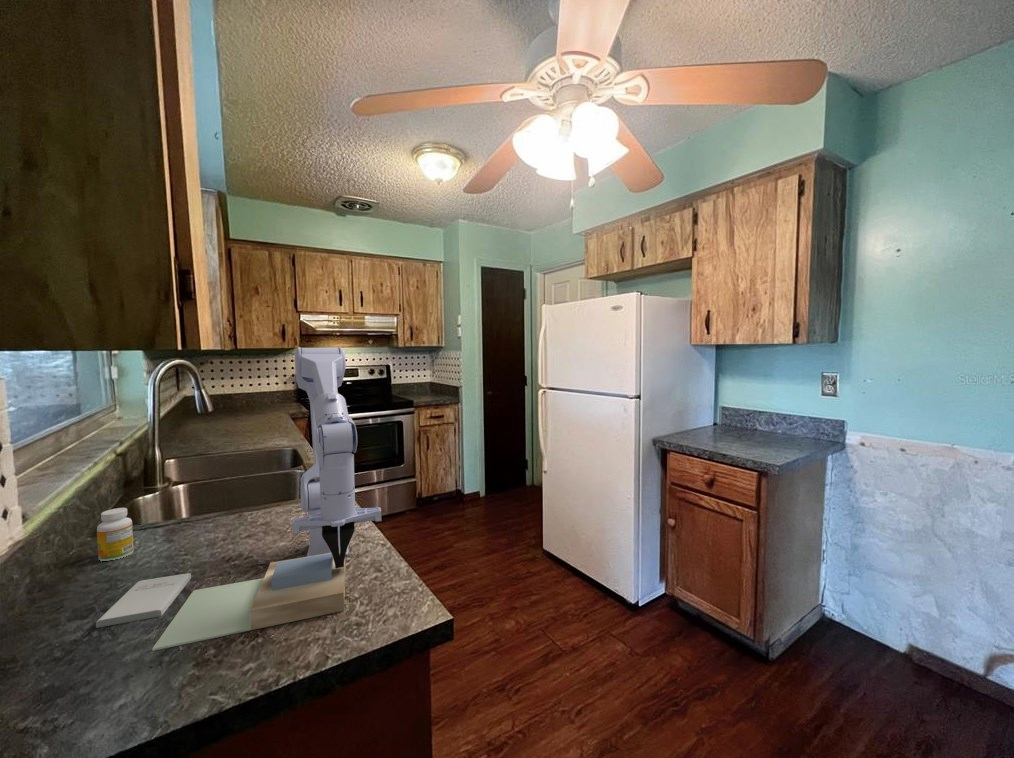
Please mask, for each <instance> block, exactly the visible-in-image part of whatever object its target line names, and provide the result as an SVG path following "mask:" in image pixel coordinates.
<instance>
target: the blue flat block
mask: <svg viewBox="0 0 1014 758" xmlns="http://www.w3.org/2000/svg"><path fill="white" fill-rule="evenodd" d="M305 557H306V558H302V557H299V558H300V559H296V558H293V559H294V560H290V559H287V560H288V561H284V560H281V561H282V562H278V561H277V562H278V563H277V565H276V568H275V570H274V573H273V576H272V578H271V583H272V591H273V590H278V589H284V588H289V587H295V586H300V585H305V584H311V583H316V582H322V581H327V580H332V571H333V556H332V553H331V554H325V555H319V556H313V557H307V556H305Z"/></svg>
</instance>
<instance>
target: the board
mask: <svg viewBox="0 0 1014 758" xmlns="http://www.w3.org/2000/svg"><path fill="white" fill-rule="evenodd" d="M327 554H331V553H327ZM339 554H340V551H339ZM321 555H325V554H321ZM314 556H319V555H314ZM306 557H307V556H303V557H302V556H301V557H296V558H292V559H291V558H290V559H284V560H278V561H272V562H269V565H268V568H267V570H266V573H265V575H264V577H263V578H264V579H263V582H262V584H261V587H260V589H259V591H258V594H257V596H256V599H255V601H254V603H253V606H252V608H251V630H250V631H254V630H258V629H262V628H269V627H272V626H277V625H282V624H288V623H290V622H292V623H293V622H296V621H300V620H306V619H310V618H311V619H312V618H315V617H319V616H325V615H329V614H334V613H339V612H342V611H345V595H346V570H347V569H346V566H347V565H346V563H347V561H346V559H345V560H344V567H340V568H335V562H334V559H333V571H332V580H327V581H322V582H316V583H311V584H305V585H300V586H295V587H289V588H284V589H278V590H273V591H272V583H271V578H272V576H273V573H274V570H275V568H276V565H277V563H278V562H282V561H288V560H294V559H300V558H306ZM308 557H313V556H308Z"/></svg>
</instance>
